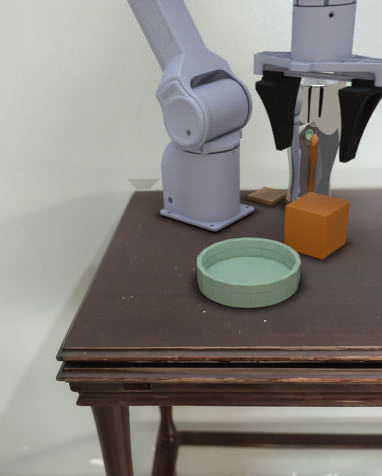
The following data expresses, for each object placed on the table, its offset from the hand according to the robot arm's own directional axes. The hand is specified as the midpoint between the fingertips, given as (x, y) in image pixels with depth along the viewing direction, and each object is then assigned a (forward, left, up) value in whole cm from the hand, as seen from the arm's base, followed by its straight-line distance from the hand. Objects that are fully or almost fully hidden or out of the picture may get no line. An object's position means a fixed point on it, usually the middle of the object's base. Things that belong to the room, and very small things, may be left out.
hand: (314, 153), depth 60 cm
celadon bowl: (0, -12, -10) cm, 15 cm away
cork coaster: (-11, +8, -10) cm, 17 cm away
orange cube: (+1, -1, -10) cm, 10 cm away
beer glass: (-6, +9, -10) cm, 15 cm away
